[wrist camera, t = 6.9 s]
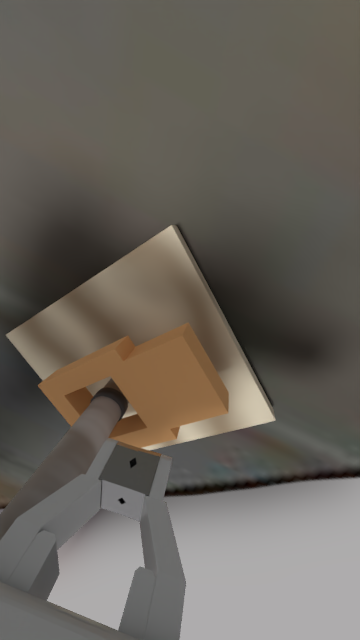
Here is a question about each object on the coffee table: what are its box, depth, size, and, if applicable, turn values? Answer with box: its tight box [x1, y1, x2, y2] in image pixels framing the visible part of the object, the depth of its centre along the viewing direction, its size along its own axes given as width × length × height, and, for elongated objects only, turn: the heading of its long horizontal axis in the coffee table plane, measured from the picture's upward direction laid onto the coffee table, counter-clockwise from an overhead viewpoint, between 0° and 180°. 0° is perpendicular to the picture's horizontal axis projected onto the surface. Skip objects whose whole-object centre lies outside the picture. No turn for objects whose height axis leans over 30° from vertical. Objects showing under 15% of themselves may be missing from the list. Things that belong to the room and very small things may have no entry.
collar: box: [38, 322, 229, 448], centre depth 17 cm, size 12×8×2 cm, turn 120°
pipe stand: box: [0, 225, 276, 540], centre depth 14 cm, size 20×18×17 cm
